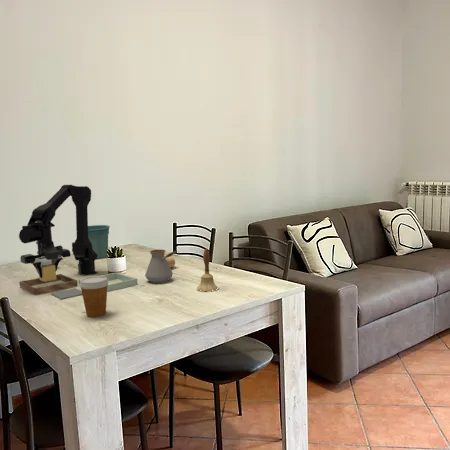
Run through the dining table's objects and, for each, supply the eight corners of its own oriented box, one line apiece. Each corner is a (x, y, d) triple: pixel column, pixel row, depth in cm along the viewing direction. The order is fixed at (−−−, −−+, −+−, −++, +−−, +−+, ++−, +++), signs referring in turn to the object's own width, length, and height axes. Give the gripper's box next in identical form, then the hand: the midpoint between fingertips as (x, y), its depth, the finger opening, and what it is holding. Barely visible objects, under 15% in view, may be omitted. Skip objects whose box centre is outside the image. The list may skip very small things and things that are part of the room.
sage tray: (117, 278, 213) (116, 272, 213) (137, 284, 201) (137, 278, 200) (79, 286, 202) (78, 280, 201) (97, 293, 189) (97, 287, 189)
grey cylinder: (56, 270, 232) (55, 254, 231) (38, 271, 230) (36, 255, 229) (59, 266, 242) (57, 250, 241) (41, 267, 240) (40, 252, 240)
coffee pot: (140, 280, 207) (138, 246, 205) (164, 276, 213) (162, 242, 211) (166, 291, 190) (164, 253, 188) (191, 285, 197) (189, 248, 194)
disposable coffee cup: (84, 310, 169) (82, 276, 167) (112, 309, 169) (110, 275, 168) (78, 319, 159) (76, 283, 158) (108, 318, 160) (106, 282, 158)
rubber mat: (75, 289, 197) (75, 288, 197) (86, 293, 190) (86, 292, 189) (50, 294, 190) (50, 293, 190) (61, 299, 183) (61, 298, 183)
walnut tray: (61, 279, 214) (60, 273, 214) (77, 286, 202) (77, 280, 201) (19, 287, 202) (19, 281, 202) (34, 295, 190) (34, 289, 190)
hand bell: (221, 286, 193) (219, 247, 191) (213, 292, 185) (212, 251, 183) (201, 285, 196) (199, 246, 194) (193, 291, 188) (191, 250, 186)
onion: (176, 266, 232) (176, 251, 231) (173, 270, 224) (172, 255, 223) (160, 266, 233) (159, 251, 232) (156, 270, 225) (155, 255, 224)
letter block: (51, 277, 205) (50, 263, 204) (56, 279, 201) (55, 265, 200) (39, 279, 202) (38, 265, 201) (44, 281, 198) (43, 267, 197)
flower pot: (94, 261, 249) (92, 230, 246) (73, 258, 258) (71, 228, 255) (118, 255, 262) (116, 225, 260) (97, 253, 271) (95, 224, 269)
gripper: (28, 244, 187) (32, 284, 189) (74, 238, 199) (77, 275, 201) (18, 241, 195) (21, 279, 198) (63, 235, 207) (66, 271, 210)
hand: (47, 276), depth 201 cm, fingers closed on letter block, 5 cm apart
